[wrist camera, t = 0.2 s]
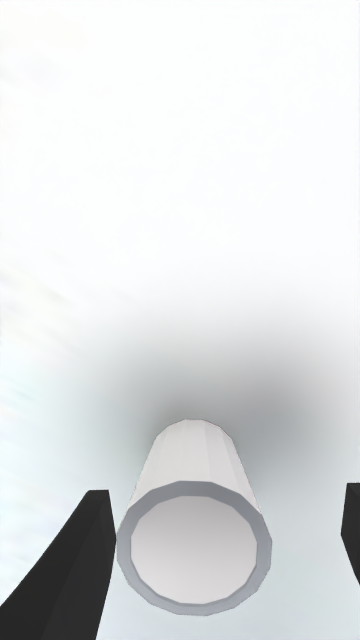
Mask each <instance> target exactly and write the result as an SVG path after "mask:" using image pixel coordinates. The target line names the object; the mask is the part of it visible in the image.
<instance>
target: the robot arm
mask: <svg viewBox="0 0 360 640" xmlns="http://www.w3.org/2000/svg"><path fill="white" fill-rule="evenodd" d="M341 537H342V540H343V542H344V545H345V548H346V551H347V554H348V557H349V560H350V563H351V565H352V568H353V571H354V574H355V576H356V578H357V580H358V582H359V585H360V483H347V487H346V495H345V504H344V512H343V520H342V528H341ZM115 546H116V533H115V527H114V521H113V515H112V509H111V502H110V496H109V490H89V491H88V492H87V493H86V494H85V495H84V497H83V498H82V500H81V501H80V503H79V504H78V506H77V507H76V509H75V510H74V512H73V513H72V515H71V516H70V518H69V519H68V520H67V522H66V523H65V525H64V526H63V528H62V529H61V530H60V532H59V533H58V535H57V536H56V537H55V539H54V540H53V541H52V543H51V544H50V545H49V547H48V548H47V549H46V551H45V552H44V553H43V555H42V556H41V557H40V559H39V560H38V561H37V563H36V564H35V565H34V566H33V568H32V569H31V570H30V571H29V572H28V574H27V575H26V576H25V577H24V579H23V580H22V581H21V582H20V584H19V585H18V586H17V587H16V589H15V590H14V591H13V592H12V593H11V595H10V596H9V597H8V598H7V599H6V600H5V602H4V603H3V604H2V605H1V606H0V640H96V636H97V632H98V628H99V624H100V620H101V616H102V612H103V608H104V604H105V600H106V595H107V591H108V587H109V583H110V579H111V573H112V567H113V560H114V553H115Z"/></svg>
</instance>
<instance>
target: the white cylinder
mask: <svg viewBox="0 0 360 640" xmlns="http://www.w3.org/2000/svg"><path fill="white" fill-rule="evenodd" d="M271 550H272V539H271V537H270V534H269V532H268V529H267V527H266V524H265V522H264V519H263V517H262V514H261V512H260V509H259V507H258V504H257V502H256V499H255V497H254V494H253V492H252V489H251V486H250V484H249V481H248V479H247V476H246V474H245V471H244V469H243V466H242V464H241V461H240V459H239V456H238V454H237V451H236V449H235V446H234V444H233V441H232V439H231V438H230V437H229V436H228V435H227V434H226V433H225V432H224V431H223V430H222V429H221V428H220V427H219V426H216V425H214V424H211V423H209V422H207V421H204V420H187V419H185V420H183V421H180V422H177V423H174V424H171V425H169V426H168V427H167V428H165V429H164V430H163V431H162V432H161V433H160V434H159V435H158V436H157V437H156V439H155V441H154V443H153V445H152V447H151V450H150V452H149V454H148V457H147V459H146V462H145V464H144V467H143V469H142V472H141V474H140V477H139V479H138V482H137V484H136V487H135V489H134V492H133V494H132V497H131V499H130V502H129V504H128V507H127V509H126V512H125V514H124V517H123V519H122V522H121V524H120V527H119V529H118V532H117V561H118V563H119V565H120V568H121V570H122V572H123V574H124V576H125V578H126V580H127V582H128V584H129V585H130V586H131V587H132V588H133V589H134V590H135V591H136V592H137V593H139V594H140V595H141V596H142V597H143V598H144V599H145V600H146V601H147V602H149V603H150V604H152V605H155V606H157V607H160V608H162V609H165V610H167V611H170V612H172V613H175V614H178V615H197V616H208V615H212V614H215V613H219V612H222V611H226V610H229V609H232V608H235V607H236V606H238V605H239V604H240V603H242V602H243V601H244V600H246V599H247V598H248V597H250V596H251V595H252V594H254V593H255V592H256V591H257V590H258V588H259V586H260V585H261V583H262V581H263V579H264V578H265V576H266V574H267V572H268V571H269V569H270V563H271Z"/></svg>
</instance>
